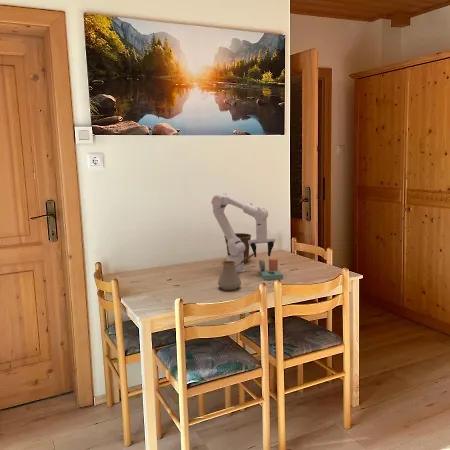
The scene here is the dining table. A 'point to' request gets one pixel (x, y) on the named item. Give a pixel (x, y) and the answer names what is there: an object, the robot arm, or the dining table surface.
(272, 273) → the slot block
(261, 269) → the steel bar
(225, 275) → the coffee pot
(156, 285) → the dining table surface
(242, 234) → the plant pot
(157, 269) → the dining table surface
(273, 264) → the square peg
